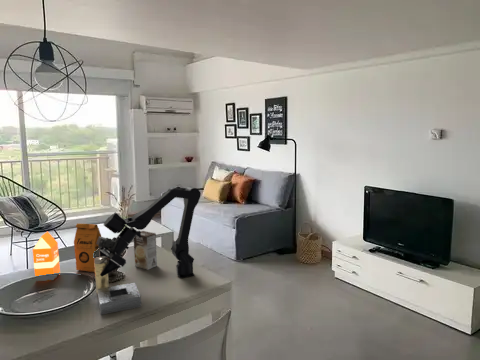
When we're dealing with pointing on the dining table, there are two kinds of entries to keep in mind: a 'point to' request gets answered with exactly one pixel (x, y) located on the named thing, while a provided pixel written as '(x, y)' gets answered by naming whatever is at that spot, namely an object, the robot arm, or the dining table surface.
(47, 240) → the orange juice
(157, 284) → the dining table surface
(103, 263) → the brass plug
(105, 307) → the bore housing
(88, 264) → the coffee package
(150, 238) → the coffee box
